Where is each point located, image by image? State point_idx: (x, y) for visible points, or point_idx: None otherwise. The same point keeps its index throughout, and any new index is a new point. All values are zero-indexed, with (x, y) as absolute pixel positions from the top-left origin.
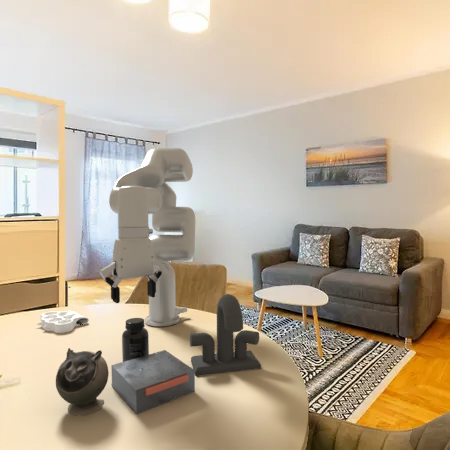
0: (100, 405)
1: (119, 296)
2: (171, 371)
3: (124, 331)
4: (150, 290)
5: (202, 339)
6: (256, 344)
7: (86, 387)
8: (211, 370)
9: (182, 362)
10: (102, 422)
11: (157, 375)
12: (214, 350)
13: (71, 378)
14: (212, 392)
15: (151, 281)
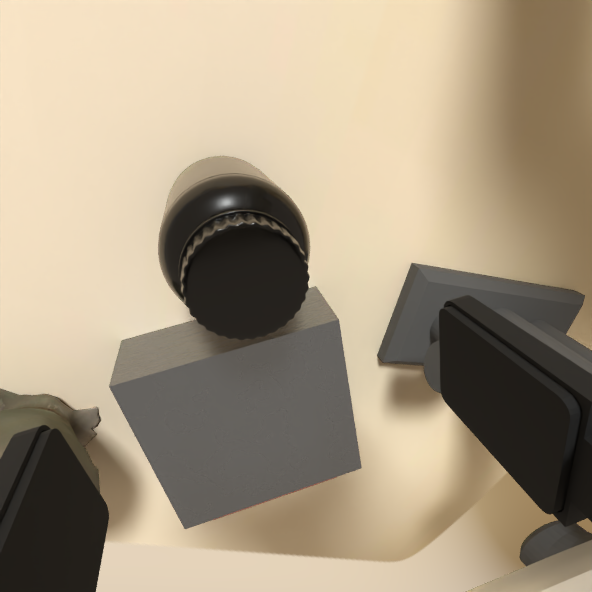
0: (90, 431)
1: (95, 577)
2: (301, 463)
3: (173, 248)
4: (480, 403)
5: None
6: None
7: None
8: (423, 365)
9: (352, 422)
10: (101, 486)
11: (257, 477)
12: None
13: None
14: (373, 433)
15: (581, 503)
